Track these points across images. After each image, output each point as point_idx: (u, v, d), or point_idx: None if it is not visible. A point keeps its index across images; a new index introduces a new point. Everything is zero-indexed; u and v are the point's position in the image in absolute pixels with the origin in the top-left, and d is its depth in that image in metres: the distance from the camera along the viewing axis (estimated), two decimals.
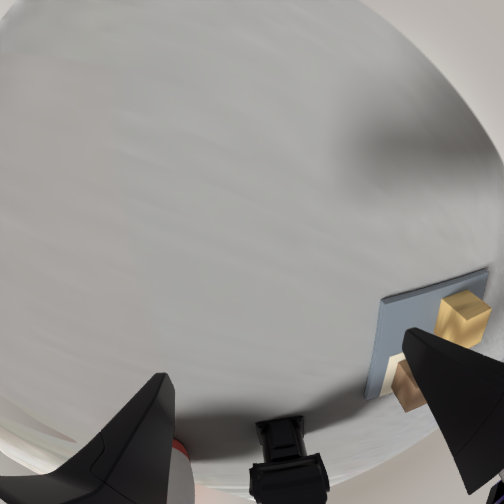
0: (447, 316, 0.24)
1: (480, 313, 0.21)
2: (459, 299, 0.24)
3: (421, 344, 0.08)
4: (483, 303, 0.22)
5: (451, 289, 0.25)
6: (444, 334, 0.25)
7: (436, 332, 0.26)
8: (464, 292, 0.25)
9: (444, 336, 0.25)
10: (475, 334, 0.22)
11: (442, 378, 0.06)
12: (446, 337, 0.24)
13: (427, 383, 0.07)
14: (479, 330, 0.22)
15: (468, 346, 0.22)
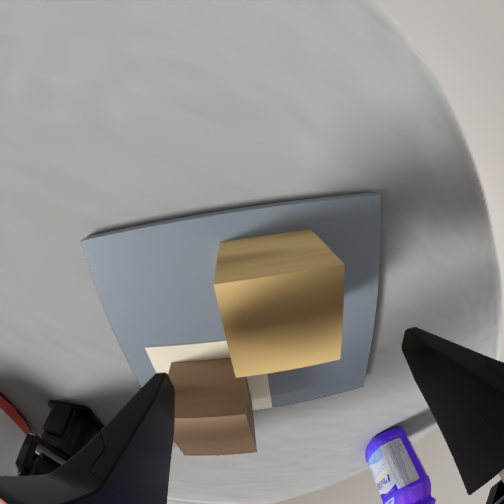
0: None
1: (285, 273, 0.10)
2: (263, 243, 0.14)
3: (421, 344, 0.08)
4: (325, 253, 0.11)
5: (244, 223, 0.14)
6: None
7: None
8: (294, 233, 0.14)
9: None
10: (298, 336, 0.11)
11: (442, 378, 0.06)
12: None
13: (427, 383, 0.07)
14: (313, 327, 0.11)
15: (286, 364, 0.12)
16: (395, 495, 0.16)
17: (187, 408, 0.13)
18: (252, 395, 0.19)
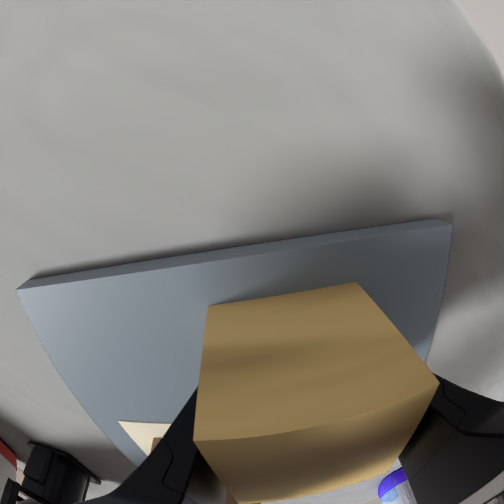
0: None
1: (337, 417, 0.04)
2: (283, 316, 0.08)
3: None
4: (399, 350, 0.05)
5: (249, 275, 0.08)
6: None
7: None
8: (332, 291, 0.08)
9: None
10: (339, 471, 0.05)
11: None
12: None
13: None
14: (364, 459, 0.05)
15: (314, 491, 0.06)
16: None
17: None
18: None
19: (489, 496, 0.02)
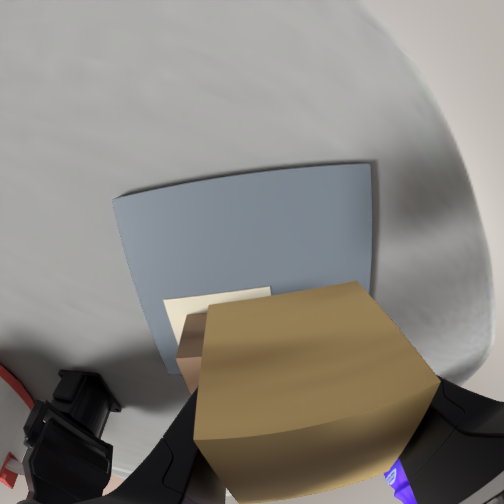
0: None
1: (338, 416, 0.04)
2: (283, 314, 0.08)
3: None
4: (400, 348, 0.05)
5: (257, 183, 0.17)
6: None
7: None
8: (333, 290, 0.08)
9: None
10: (340, 470, 0.05)
11: None
12: None
13: None
14: (365, 458, 0.05)
15: (314, 491, 0.06)
16: (397, 466, 0.19)
17: None
18: None
19: (489, 496, 0.02)
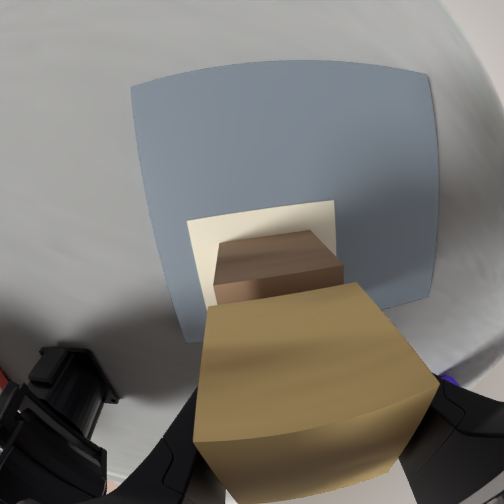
0: None
1: (337, 418, 0.04)
2: (282, 316, 0.08)
3: None
4: (400, 351, 0.05)
5: (316, 70, 0.12)
6: None
7: None
8: (333, 292, 0.08)
9: None
10: (339, 471, 0.05)
11: None
12: None
13: None
14: (364, 460, 0.05)
15: (314, 492, 0.06)
16: None
17: (257, 271, 0.11)
18: None
19: (489, 496, 0.02)
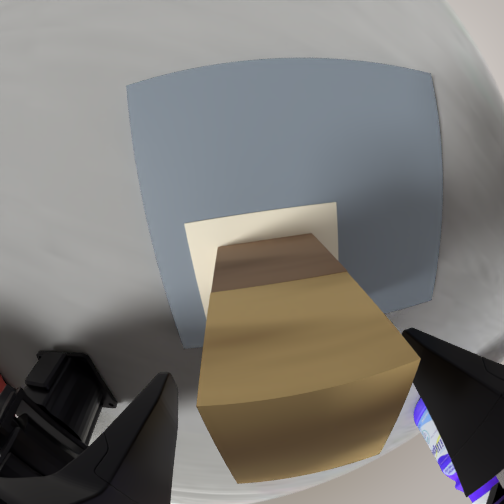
0: None
1: (326, 385, 0.05)
2: (278, 300, 0.08)
3: (418, 345, 0.08)
4: (384, 330, 0.06)
5: (318, 68, 0.11)
6: None
7: None
8: (324, 280, 0.09)
9: None
10: (331, 447, 0.06)
11: (439, 379, 0.06)
12: None
13: (424, 384, 0.07)
14: (354, 436, 0.06)
15: (308, 470, 0.06)
16: None
17: (257, 277, 0.10)
18: None
19: None
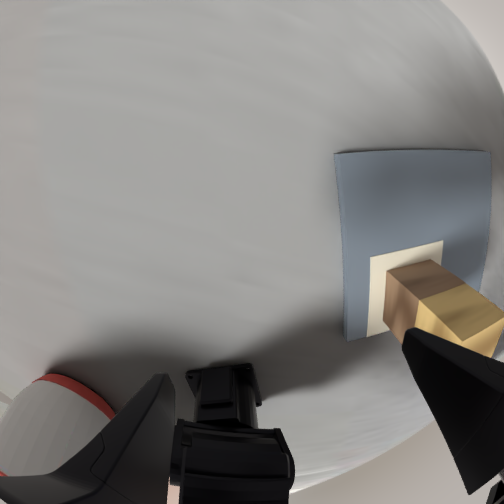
0: (428, 330, 0.14)
1: (488, 326, 0.11)
2: (451, 299, 0.14)
3: (421, 344, 0.08)
4: (493, 306, 0.12)
5: (442, 157, 0.17)
6: None
7: None
8: (460, 288, 0.15)
9: None
10: None
11: (442, 378, 0.06)
12: None
13: (427, 383, 0.07)
14: (485, 353, 0.12)
15: None
16: None
17: (431, 289, 0.16)
18: None
19: None
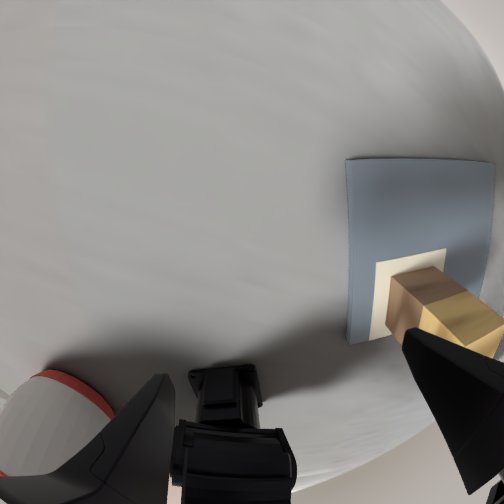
0: None
1: (489, 332, 0.11)
2: (454, 306, 0.15)
3: (421, 344, 0.08)
4: (493, 313, 0.12)
5: (448, 167, 0.18)
6: None
7: None
8: (462, 295, 0.15)
9: None
10: None
11: (442, 378, 0.06)
12: None
13: (427, 383, 0.07)
14: None
15: None
16: None
17: (435, 295, 0.16)
18: None
19: None
